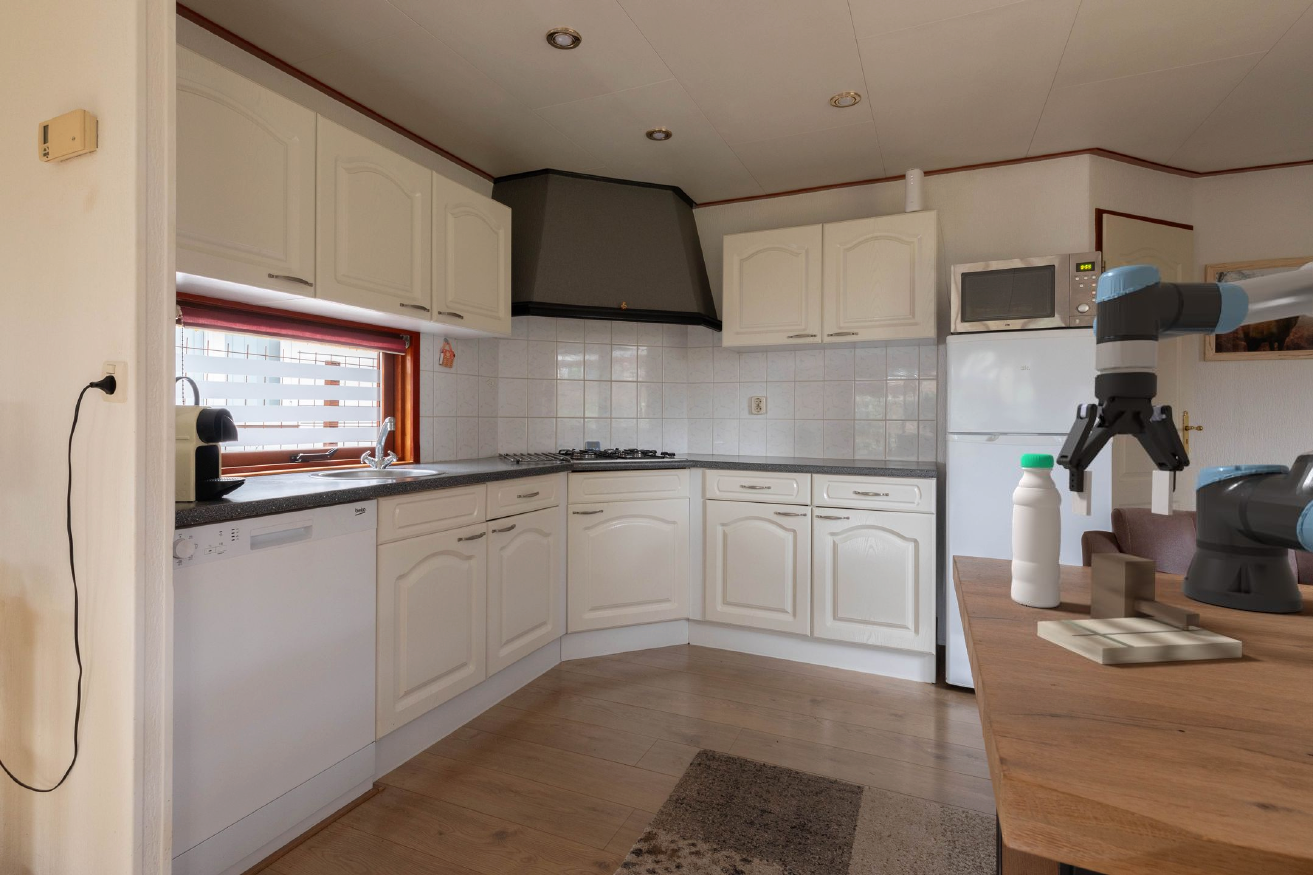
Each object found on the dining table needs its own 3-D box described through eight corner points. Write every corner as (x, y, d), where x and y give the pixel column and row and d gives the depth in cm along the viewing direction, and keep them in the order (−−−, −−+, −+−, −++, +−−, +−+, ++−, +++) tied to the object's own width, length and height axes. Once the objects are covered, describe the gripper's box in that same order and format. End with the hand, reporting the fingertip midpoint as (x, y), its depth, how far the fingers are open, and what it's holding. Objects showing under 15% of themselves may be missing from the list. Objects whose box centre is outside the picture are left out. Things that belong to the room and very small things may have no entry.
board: (1162, 630, 93) (1162, 615, 93) (1241, 657, 82) (1242, 641, 82) (1037, 635, 90) (1037, 620, 90) (1102, 664, 79) (1102, 647, 79)
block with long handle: (1119, 616, 99) (1120, 552, 99) (1208, 647, 86) (1210, 573, 85) (1090, 617, 99) (1091, 553, 99) (1176, 649, 85) (1177, 574, 85)
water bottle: (1056, 600, 109) (1058, 453, 108) (1063, 611, 102) (1065, 455, 102) (1009, 595, 112) (1011, 452, 111) (1012, 605, 105) (1014, 454, 105)
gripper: (1175, 376, 101) (1171, 510, 101) (1031, 372, 97) (1028, 511, 98) (1223, 372, 93) (1219, 517, 94) (1069, 368, 90) (1066, 518, 90)
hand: (1121, 514), depth 96 cm, fingers open, 13 cm apart
